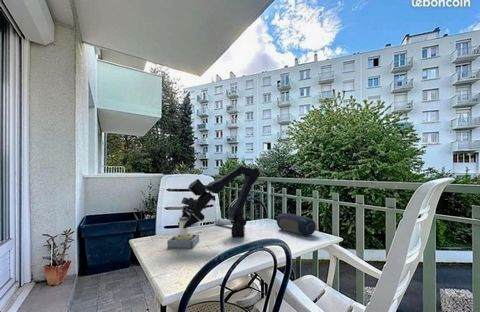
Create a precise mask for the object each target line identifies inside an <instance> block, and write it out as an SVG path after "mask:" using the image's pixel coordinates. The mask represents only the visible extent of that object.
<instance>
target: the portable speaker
mask: <svg viewBox="0 0 480 312" xmlns="http://www.w3.org/2000/svg"><path fill="white" fill-rule="evenodd" d="M276 225H277V227H278V228H279V229H281V230H282V231H285V232H286V231H287V232H290V233H293V234H297V235H301V236H304V237H307V236H309V237H310V236H312V235H313V234H314V233H315V231H316V230H317V229H316V228H317V227H316V226H317V225H316V222H315V221H314V220H313V219H311V218H310V217H308V216H302V215H298V214H293V213H287V212H283V213H280V214H278V215H277V218H276Z"/></svg>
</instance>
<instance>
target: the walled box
mask: <svg viewBox="0 0 480 312" xmlns="http://www.w3.org/2000/svg"><path fill="white" fill-rule="evenodd" d="M199 242H200V234H197V233H196V234H194V233H193V234H192V233H189V232H188V236H187V237H180V233H177V234H174V235H173V236H171V238H169V239H168V240H167V248H166V249H186V250H188V249H192V250H193V249H194V248H195V246H196V245H197V244H199Z"/></svg>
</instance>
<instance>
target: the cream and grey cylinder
mask: <svg viewBox="0 0 480 312" xmlns="http://www.w3.org/2000/svg"><path fill="white" fill-rule="evenodd" d="M187 220H188V217H181V216H180V217H179V218H178V223H179V225H178V226H179V234H180V237H187V236H188V233H189V227H187V228H185V229H184V228H183V226H184V225H185V223H186V222H187Z"/></svg>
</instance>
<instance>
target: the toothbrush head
mask: <svg viewBox="0 0 480 312" xmlns="http://www.w3.org/2000/svg"><path fill="white" fill-rule="evenodd" d="M214 224H215V225H218V226H232V225H233V224H232V223H231V221H230V220H229V219H225V218H221V217H220V218H216V219H215V221H214ZM245 226H246V225H244V230H245V229H246V227H245Z"/></svg>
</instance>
